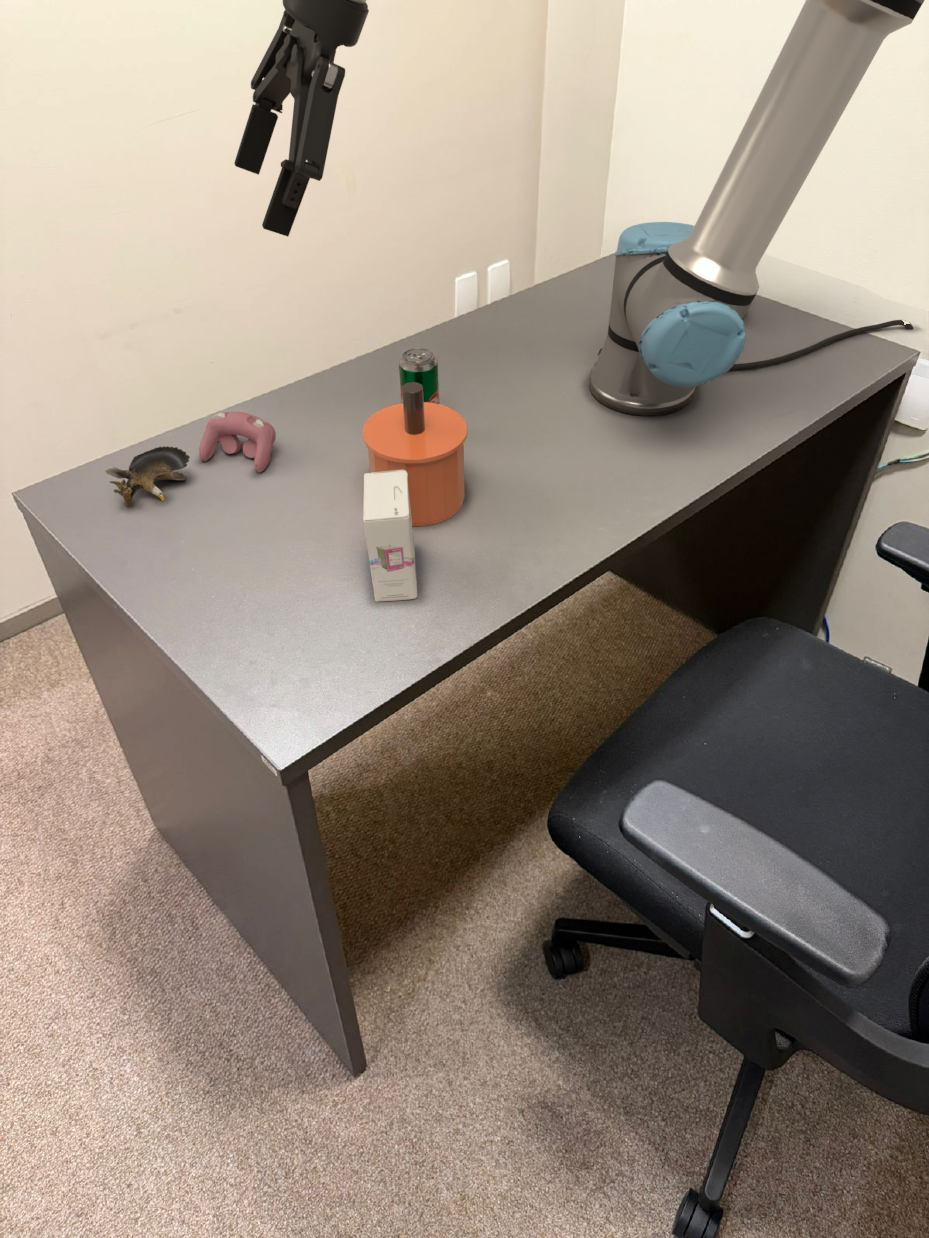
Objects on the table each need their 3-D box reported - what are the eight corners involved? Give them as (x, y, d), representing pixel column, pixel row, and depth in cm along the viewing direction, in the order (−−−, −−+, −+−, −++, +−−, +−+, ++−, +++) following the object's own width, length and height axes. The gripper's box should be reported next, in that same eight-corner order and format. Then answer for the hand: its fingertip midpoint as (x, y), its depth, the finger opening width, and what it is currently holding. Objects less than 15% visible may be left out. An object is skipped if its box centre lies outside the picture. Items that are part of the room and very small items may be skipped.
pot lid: (441, 401, 108) (439, 352, 104) (485, 451, 100) (485, 400, 96) (348, 425, 105) (342, 375, 100) (386, 478, 97) (381, 427, 92)
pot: (441, 463, 114) (439, 400, 108) (479, 510, 107) (479, 445, 100) (361, 486, 111) (353, 422, 104) (394, 536, 103) (388, 471, 97)
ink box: (372, 553, 101) (362, 469, 93) (414, 550, 102) (408, 467, 93) (372, 603, 95) (362, 518, 87) (417, 600, 96) (412, 515, 87)
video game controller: (278, 470, 116) (281, 417, 114) (260, 474, 112) (264, 420, 110) (214, 457, 119) (216, 406, 116) (195, 461, 114) (196, 407, 112)
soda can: (435, 447, 117) (432, 366, 108) (399, 443, 118) (393, 363, 109) (443, 427, 120) (441, 347, 112) (408, 424, 121) (403, 344, 113)
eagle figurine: (151, 516, 105) (203, 470, 109) (109, 470, 102) (164, 424, 106) (132, 520, 111) (182, 477, 115) (92, 477, 108) (145, 433, 112)
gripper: (264, -81, 84) (203, 134, 97) (334, 13, 71) (252, 249, 83) (333, -43, 89) (266, 157, 101) (411, 52, 75) (322, 270, 88)
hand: (260, 199), depth 92 cm, fingers open, 13 cm apart
